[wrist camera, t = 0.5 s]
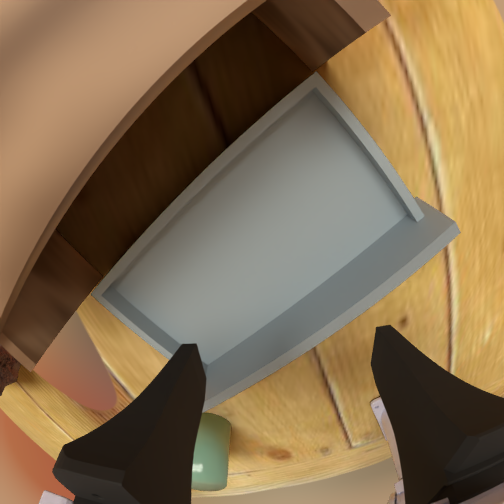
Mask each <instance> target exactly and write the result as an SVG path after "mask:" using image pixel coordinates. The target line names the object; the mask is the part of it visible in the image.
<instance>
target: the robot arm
mask: <svg viewBox="0 0 504 504" xmlns="http://www.w3.org/2000/svg"><path fill="white" fill-rule="evenodd" d="M371 367H372V371H373V375H374V379H375V383H376V386H377V389H378V391H379V394H380V397H379V398H377V399H374V400H373V401H371V403H370V405H371V407H372V410H373V412H374V414H375V416H376V419H377V421H378V423H379V426H380V428H381V430H382V433H383V435H384V437H385V440H386V441H388V444H389V447H390V451H391V454H392V458H393V461H394V465H395V468H396V472H397V475H398V479H399V481H398V482H397V483H395V484H394V486H395V489H396V492H394V493H392V494H391V496H390V498H389V501H388V503H387V504H504V398H502V397H499V396H496V395H493V394H491V393H488V392H485V391H483V390H481V389H478V388H476V387H474V386H472V385H470V384H468V383H466V382H464V381H462V380H461V379H459V378H457V377H456V376H454V375H452V374H451V373H449V372H447V371H446V370H444V369H443V368H441V367H440V366H439V365H437V364H436V363H435V362H433V361H432V360H431V359H429V358H428V357H427V356H425V355H424V354H423V353H422V352H421V351H419V350H418V349H417V348H416V347H415V346H413V345H412V344H411V343H410V342H409V341H408V340H407V339H405V338H404V337H403V336H402V335H401V334H400V333H399V332H398V331H397V330H395V329H394V328H393V327H392V326H391V325H387V326H380V327H376V333H375V340H374V346H373V353H372V359H371ZM206 380H207V378H206V375H205V371H204V368H203V364H202V361H201V357H200V354H199V350H198V346H197V343H192V344H182V345H181V346H180V347H179V348H178V350H177V351H176V352H175V353H174V355H173V356H172V357H171V359H170V360H169V361H168V363H167V364H166V365H165V366H164V368H163V369H162V370H161V371H160V372H159V374H158V375H157V376H156V377H155V379H154V380H153V381H152V382H151V383H150V384H149V385H148V386H147V387H146V388H145V390H144V391H143V392H142V393H141V394H140V395H139V396H138V397H137V398H136V399H135V400H134V401H133V402H132V403H130V404H129V405H128V406H127V407H126V408H125V409H123V410H122V411H121V412H120V413H118V414H117V415H116V416H114V417H113V418H111V419H110V420H109V421H107V422H106V423H104V424H103V425H101V426H100V427H98V428H97V429H95V430H93V431H91V432H90V433H88V434H86V435H84V436H82V437H80V438H78V439H76V440H74V441H72V442H70V443H67V444H65V445H64V446H63V447H62V450H61V452H60V454H59V456H58V458H57V461H56V463H55V465H54V468H53V471H52V472H53V474H54V476H55V478H56V479H57V480H58V481H59V482H60V483H61V484H62V485H64V486H65V487H66V488H67V489H68V490H70V491H71V492H72V493H73V494H74V495H75V499H74V502H73V501H72V500H70V499H68V498H66V497H63V496H60V495H57V494H55V493H52V492H49V491H47V490H45V491H44V492H43V494H42V497H41V499H40V502H39V504H191V486H192V470H193V458H194V449H195V443H196V439H197V434H198V429H199V425H200V420H201V416H202V411H203V406H204V402H205V393H206Z"/></svg>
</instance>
